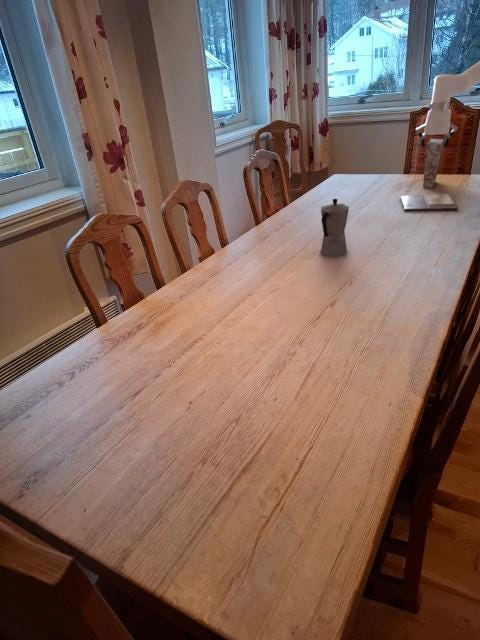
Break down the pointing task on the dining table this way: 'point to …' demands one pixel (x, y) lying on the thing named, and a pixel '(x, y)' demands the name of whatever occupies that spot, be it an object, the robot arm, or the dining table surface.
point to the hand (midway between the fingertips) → (433, 147)
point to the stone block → (432, 162)
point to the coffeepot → (334, 229)
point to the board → (428, 203)
